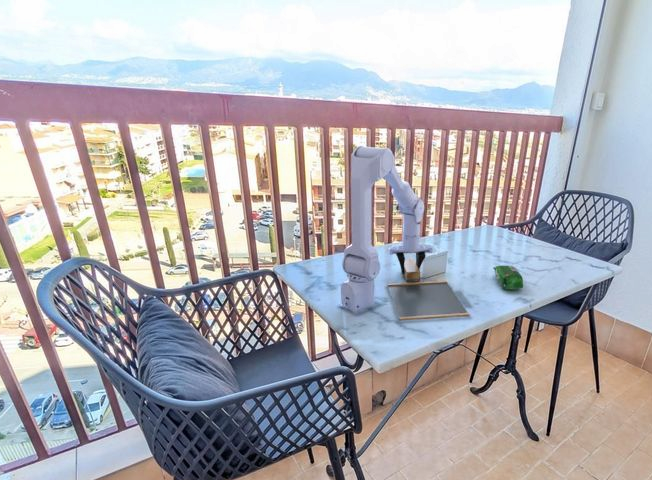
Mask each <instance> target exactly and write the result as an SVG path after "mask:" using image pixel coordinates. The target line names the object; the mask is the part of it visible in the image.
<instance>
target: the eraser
mask: <svg viewBox="0 0 652 480" xmlns="http://www.w3.org/2000/svg"><path fill="white" fill-rule="evenodd" d="M402 275H403V277H404V279H405V282H406V283H414V282H421V269H420V270H419V269H418V267H417V265H416V260H414V259H413V260H412V258H411V259H405V263H404V274H402Z"/></svg>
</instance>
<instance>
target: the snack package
mask: <svg viewBox="0 0 652 480" xmlns="http://www.w3.org/2000/svg"><path fill="white" fill-rule="evenodd" d="M493 270H494V276H495V278H496V280H497V281H498V283H499V285H500V287H502V288H503V289H504V290H520V289H523V288H524V279H523V276H522V274H521V273H520V272H519V270H518V269H517V268H516V267H515V266H514V265H496V266H495V267H493Z"/></svg>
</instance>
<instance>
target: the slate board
mask: <svg viewBox="0 0 652 480" xmlns="http://www.w3.org/2000/svg"><path fill="white" fill-rule="evenodd" d="M387 287H388V289H389V293H390V295H391V298H392V299H391V300H392V301H393V304H394V307H395V310H396V314H397V316H398V319H399V321H410V320H427V319H441V318H442V319H443V318H455V317H469V316H470V315H471V314H470V313H469V312H468V311H467V310H466V309H465V307H464V306H463V304H462V303H461V301H460V300H459V298H458V297H457V295H456V294H455V291H453V290H452V287H451V286H450V285H449V284H448V280H433V281H414V282H398V283H397V282H396V283H387Z"/></svg>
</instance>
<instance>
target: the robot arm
mask: <svg viewBox="0 0 652 480" xmlns="http://www.w3.org/2000/svg"><path fill="white" fill-rule="evenodd" d="M395 163H396V157H395V156H394V154H393V151H392V150H391V149H390V148H388V147H383V148H382V147H373V146H372V147H371V146H364V145H359V146H357V147H356V148H355V149H354V150H353V152H351V154H350V173H351V175H350V210H351V211H350V212H351V213H350V214H351V217H350V218H351V219H350V220H351V244H350V245H348V246H347V247H346V248H345V249H344V250H343V252H344V253H343V258H342V263H341V268H342V270H343V272H344V273H345V274H346V277H347V278H348V279H346V281H344V282H343V283H341V286H340V298H341V299H340V301H341V304H339V306H340V307H341V308H343V309H345V308H346V309H347V310H350V311H352V312H354V313H355V312H358V311H361V310H364V309H367V308H371V307H373V306H374V305H375V279H377V277H378V276H379V273H380V271H381V263H380V260H379V252H378V251H377V249H376V248H375V247H374V246H373V244H372V216H373V215H372V208H373V207H372V206H373V205H372V202H373V201H372V199H373V196H372V193H373V191H372V190H373V189H372V187H373V186H374V184H375V183H377V182H379V181H381V180H382V179H384V180H385V182H387V184H388V185H389V186H390V187H391V195H392V196H393V198H394V199H395V201H396V202H397V205H398V211H399V213H400V214H401V215H402V234H401V235H402V237H401V238H402V243H401V245H398V246H390V247H388V254H389V255H391V256H392V255H395V256H396V257H397V260H398V263H399V266H400V272H401V275H403V274H404V263H405V260H406V257H405V254H415V263H416V265H417V267H418V269H419V270H420V271H421V266H422V265H423V262H424V260H425V259H426V256H427V255H426V254H427V253H428V254H432V253H433V246H432V245H420V238H421V222H422V221H423V215H424V211H425V204H424V203H425V202H424V201H423V200H422V198H421V197H420V198H419V197H417V195H416V193H415V192H414V191H413V188H412V187H411V185H410V183H409V182H408V181H405V180H403V179H402V178H401V175H400V173H399V171H398V170H397V167H396V166H395Z"/></svg>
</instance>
